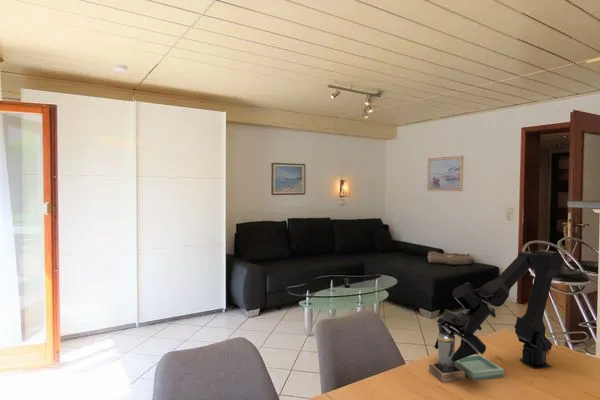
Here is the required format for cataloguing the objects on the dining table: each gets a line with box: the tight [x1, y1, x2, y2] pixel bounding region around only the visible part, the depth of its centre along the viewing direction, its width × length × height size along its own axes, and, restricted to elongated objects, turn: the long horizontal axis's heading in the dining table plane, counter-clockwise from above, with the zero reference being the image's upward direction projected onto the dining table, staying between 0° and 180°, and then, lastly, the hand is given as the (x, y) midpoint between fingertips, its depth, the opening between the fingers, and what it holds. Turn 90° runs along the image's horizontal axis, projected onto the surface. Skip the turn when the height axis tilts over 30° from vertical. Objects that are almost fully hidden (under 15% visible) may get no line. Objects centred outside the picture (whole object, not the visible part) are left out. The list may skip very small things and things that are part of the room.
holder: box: [428, 361, 466, 384], centre depth 118 cm, size 8×8×2 cm
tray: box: [455, 353, 505, 382], centre depth 120 cm, size 11×11×2 cm
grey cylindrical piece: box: [437, 332, 456, 373], centre depth 118 cm, size 5×5×13 cm
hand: (443, 354), depth 117 cm, fingers open, 9 cm apart
